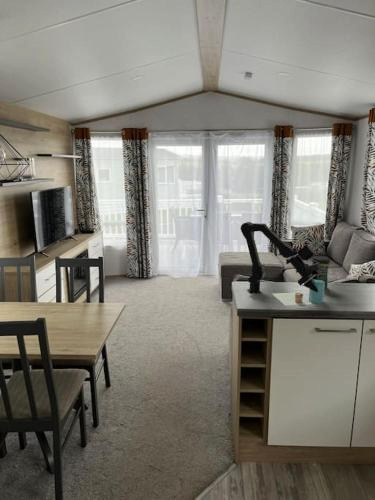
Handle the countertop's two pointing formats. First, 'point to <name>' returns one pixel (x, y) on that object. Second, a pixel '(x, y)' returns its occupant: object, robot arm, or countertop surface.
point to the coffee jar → (322, 268)
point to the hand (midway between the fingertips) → (319, 290)
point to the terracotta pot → (298, 297)
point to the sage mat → (289, 299)
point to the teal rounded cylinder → (317, 296)
